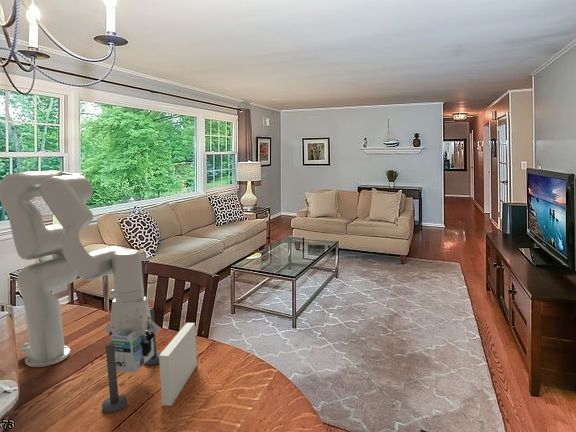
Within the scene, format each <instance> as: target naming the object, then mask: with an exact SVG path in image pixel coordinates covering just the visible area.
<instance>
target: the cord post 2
mask: <svg viewBox="0 0 576 432" xmlns="http://www.w3.org/2000/svg"><path fill="white" fill-rule="evenodd" d="M149 309H150V315H151V320H152V321H153V322H154V323H155V310H154V308H153V307H151V308H150V307H149ZM156 339H157V338H156V335H155V336H154V337H153V344H154V355H153V356H152V357H151V358H150V359H149V360H148V361H147V362H146V363H145V364H144V366H156V365H160V363H159V355H160V354H161V353H162V352H158V351H157V342H156V341H157V340H156Z"/></svg>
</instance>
